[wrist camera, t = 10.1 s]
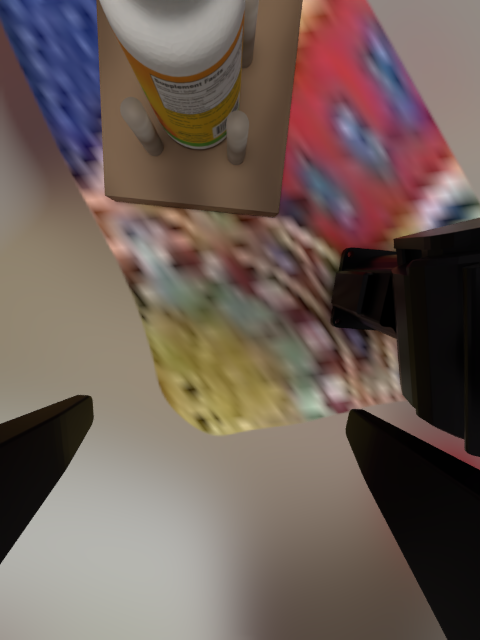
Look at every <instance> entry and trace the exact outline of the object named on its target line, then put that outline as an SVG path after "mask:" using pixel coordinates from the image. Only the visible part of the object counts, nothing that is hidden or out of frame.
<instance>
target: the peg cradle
mask: <svg viewBox="0 0 480 640" xmlns="http://www.w3.org/2000/svg"><path fill="white" fill-rule="evenodd" d="M96 1H97V24H98V47H99V70H100V93H101V116H102V139H103V162H104V185H105V196H107V197H109V198H111V199H112V200H114V201H117V202H127V203H137V204H147V205H157V206H167V207H177V208H187V209H197V210H207V211H217V212H227V213H237V214H247V215H257V216H267V217H275V216H276V215H277V214H278V213H279V204H280V195H281V187H282V178H283V169H284V160H285V151H286V142H287V133H288V125H289V116H290V107H291V98H292V89H293V80H294V72H295V63H296V54H297V45H298V36H299V27H300V18H301V10H302V1H303V0H245V17H244V35H243V53H242V71H241V91H240V105H239V111H238V110H237V111H233V112H231V113H230V114H229V116H228V118H227V121H226V131H227V137H226V138H225V139H224V140H223V141H221V142H220V143H218V144H217V145H215V146H213V147H210V148H207V149H192V148H189V147H185V146H183V145H181V144H179V143H178V142H176V141H175V140H174V139H172V138H171V137H170V136H169V135H168V134H167V132H166V131H165V130H164V128H163V127H162V125H161V124H160V122H159V120H158V118H157V117H156V115H155V113H154V111H153V109H152V107H151V105H150V103H149V101H148V99H147V97H146V95H145V93H144V91H143V89H142V87H141V85H140V83H139V81H138V79H137V77H136V75H135V73H134V71H133V69H132V67H131V65H130V63H129V61H128V59H127V57H126V55H125V53H124V52H123V50H122V48H121V46H120V44H119V42H118V40H117V38H116V36H115V34H114V32H113V30H112V28H111V26H110V24H109V21H108V19H107V17H106V15H105V13H104V10H103V8H102V6H101V3H100V1H99V0H96Z"/></svg>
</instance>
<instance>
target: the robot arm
mask: <svg viewBox="0 0 480 640" xmlns="http://www.w3.org/2000/svg"><path fill="white" fill-rule="evenodd" d="M394 248H396V252H394V251H384V250H373V249H362V248H346V249H345V250H344V251H343V253H342V258H341V264H340V269H339V272H338V273H337V274H336V279H335V285H334V290H333V296H332V302H331V303H332V304H333V309H332V315H331V324H332V325H333V326H335V327H338V328H352V329H366V330H377V331H380V332H382V333H384V334H386V335H389V336H391V337H393V338H396V339H397V349H398V361H399V373H400V385H401V389H402V394H403V396H404V397H405V398H406V399H407V400H408V401H409V403H410V404H411V405H412V406H413V407H414V408H415V409H416V414H417V415H418V416H419V417H420V418H422V419H423V420H425V421H426V422H428V423H429V424H431V425H433V426H435V427H436V428H438V429H440V430H442V431H445V432H447V433H449V434H451V435H453V436H455V437H458V438H461V439H464V440H465V451H466V452H467V453H469V454H471V455H474V456H478V457H480V218H476V219H472V220H468V221H464V222H460V223H456V224H452V225H448V226H444V227H440V228H435V229H431V230H427V231H423V232H419V233H415V234H411V235H407V236H403V237H399V238H395V239H394ZM349 251H350V252H351V256H350V257H348V252H349ZM337 319H339V322H338V323H335V321H336V320H337ZM93 418H94V415H93V401H92V397H91V396H88V395H76V396H74V397H71V398H68V399H65V400H63V401H60V402H57V403H55V404H52V405H49V406H47V407H44V408H42V409H39V410H36V411H34V412H31V413H28V414H26V415H23V416H20V417H18V418H15V419H12V420H10V421H7V422H4V423H2V424H0V564H1V562H2V561H3V560H4V558H5V557H6V555H7V553H8V552H9V551H10V550H11V548H12V547H13V545H14V544H15V542H16V541H17V539H18V538H19V537H20V535H21V534H22V532H23V531H24V529H25V528H26V526H27V525H28V524H29V522H30V521H31V519H32V518H33V517H34V515H35V514H36V512H37V511H38V509H39V508H40V506H41V505H42V504H43V502H44V501H45V499H46V498H47V496H48V495H49V494H50V492H51V490H52V489H53V488H54V486H55V485H56V483H57V482H58V481H59V479H60V478H61V476H62V475H63V473H64V472H65V470H66V469H67V467H68V465H69V464H70V462H71V460H72V458H73V457H74V455H75V453H76V451H77V450H78V448H79V446H80V444H81V443H82V441H83V439H84V437H85V436H86V434H87V432H88V430H89V429H90V427H91V425H92V422H93ZM346 436H347V438H348V441H349V443H350V446H351V448H352V451H353V453H354V455H355V458H356V460H357V463H358V465H359V468H360V470H361V473H362V475H363V477H364V479H365V481H366V483H367V485H368V488H369V489H370V491H371V493H372V495H373V497H374V499H375V501H376V503H377V505H378V507H379V509H380V511H381V513H382V515H383V516H384V518H385V520H386V522H387V524H388V526H389V528H390V530H391V532H392V534H393V536H394V538H395V540H396V542H397V543H398V545H399V547H400V549H401V551H402V553H403V555H404V557H405V559H406V561H407V563H408V565H409V566H410V568H411V570H412V572H413V574H414V576H415V578H416V580H417V582H418V584H419V586H420V588H421V590H422V591H423V593H424V595H425V597H426V599H427V601H428V603H429V605H430V607H431V609H432V611H433V613H434V615H435V617H436V619H437V621H438V622H439V624H440V626H441V628H442V630H443V632H444V634H445V636H446V638H447V640H480V470H479V469H477V468H475V467H473V466H471V465H469V464H467V463H465V462H463V461H461V460H459V459H457V458H456V457H454V456H452V455H450V454H448V453H446V452H444V451H442V450H440V449H438V448H436V447H434V446H432V445H430V444H429V443H426V442H425V441H423V440H421V439H419V438H417V437H415V436H413V435H411V434H409V433H407V432H405V431H403V430H401V429H399V428H398V427H396V426H394V425H392V424H390V423H388V422H386V421H384V420H382V419H380V418H378V417H376V416H374V415H372V414H371V413H369V412H367V411H365V410H362V409H352V410H350V412H349V416H348V420H347V425H346Z"/></svg>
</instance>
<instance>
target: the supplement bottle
mask: <svg viewBox="0 0 480 640" xmlns="http://www.w3.org/2000/svg"><path fill="white" fill-rule="evenodd" d="M99 1H100V3H101V6H102V8H103V10H104V13H105V15H106V17H107V19H108V21H109V24H110V26H111V28H112V30H113V32H114V34H115V36H116V38H117V40H118V42H119V44H120V46H121V48H122V50H123V52H124V53H125V55H126V57H127V59H128V61H129V63H130V65H131V67H132V69H133V71H134V73H135V75H136V77H137V79H138V81H139V83H140V85H141V87H142V89H143V91H144V93H145V95H146V97H147V99H148V101H149V103H150V105H151V107H152V109H153V111H154V113H155V115H156V117H157V118H158V120H159V122H160V124H161V125H162V127H163V128H164V130H165V131H166V132H167V134H168V135H169V136H170V137H171V138H172V139H174V140H175V141H176V142H178V143H179V144H181V145H183V146H185V147H189V148H192V149H207V148H210V147H213V146H215V145H217V144H218V143H220V142H221V141H223V140H224V139H225V138H226V137H227V131H226V121H227V118H228V116H229V114H230V113H231V112H233V111H237V110H238V111H239V105H240V91H241V71H242V53H243V35H244V17H245V0H99Z"/></svg>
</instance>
